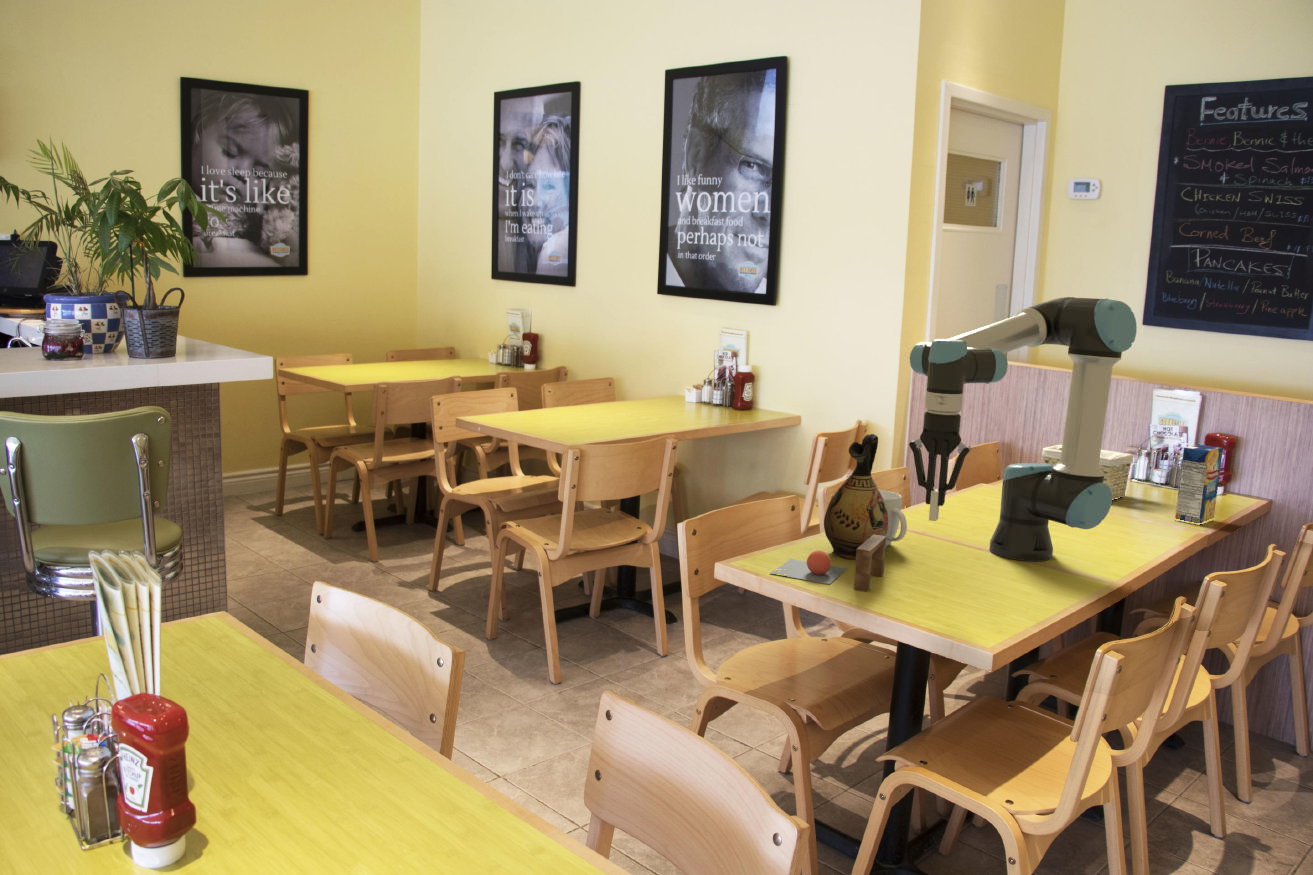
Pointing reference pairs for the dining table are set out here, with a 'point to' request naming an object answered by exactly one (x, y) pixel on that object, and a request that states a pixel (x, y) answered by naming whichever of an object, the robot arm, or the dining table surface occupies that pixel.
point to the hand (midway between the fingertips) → (933, 519)
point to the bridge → (869, 561)
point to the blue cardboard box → (1198, 483)
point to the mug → (894, 516)
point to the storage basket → (1101, 467)
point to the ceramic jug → (856, 504)
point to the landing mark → (808, 572)
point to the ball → (818, 562)
